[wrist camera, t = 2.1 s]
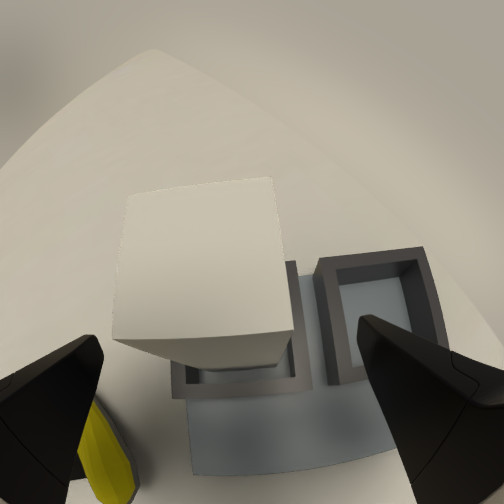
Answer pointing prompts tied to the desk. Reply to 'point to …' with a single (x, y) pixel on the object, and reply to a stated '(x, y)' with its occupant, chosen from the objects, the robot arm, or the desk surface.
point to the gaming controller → (105, 459)
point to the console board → (311, 372)
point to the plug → (204, 276)
